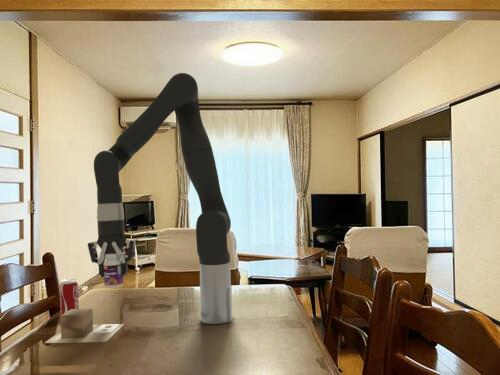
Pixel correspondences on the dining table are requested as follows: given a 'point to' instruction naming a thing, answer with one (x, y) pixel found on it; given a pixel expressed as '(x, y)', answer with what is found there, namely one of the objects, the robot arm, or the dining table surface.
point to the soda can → (68, 295)
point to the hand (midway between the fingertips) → (113, 275)
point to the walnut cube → (76, 323)
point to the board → (89, 338)
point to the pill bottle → (112, 271)
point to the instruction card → (106, 328)
